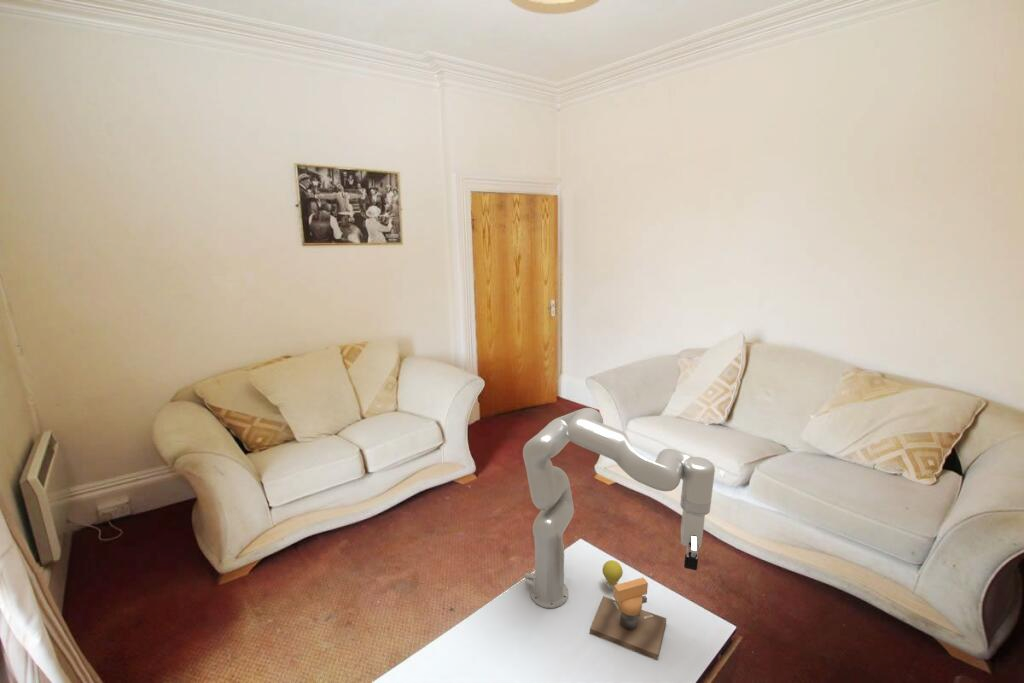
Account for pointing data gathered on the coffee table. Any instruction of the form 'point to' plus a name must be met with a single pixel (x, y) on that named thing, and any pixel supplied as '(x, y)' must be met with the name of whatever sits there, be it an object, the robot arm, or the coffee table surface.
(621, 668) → the coffee table surface
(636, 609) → the orange bar knob
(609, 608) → the post board
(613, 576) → the light bulb
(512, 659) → the coffee table surface
